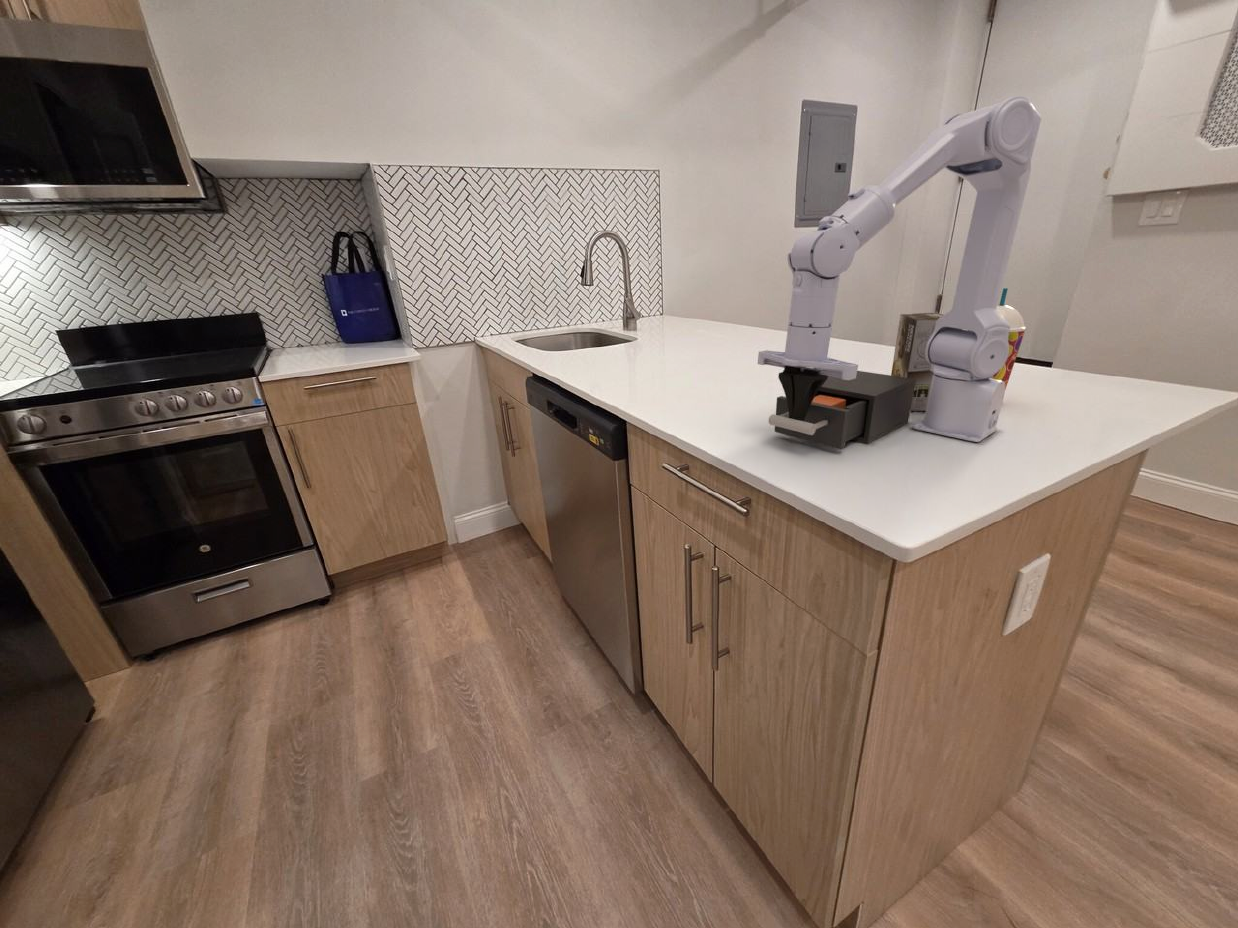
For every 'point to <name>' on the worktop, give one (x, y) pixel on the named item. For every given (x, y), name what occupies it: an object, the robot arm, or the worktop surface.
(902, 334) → the coffee box
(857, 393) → the dark drawer unit
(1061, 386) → the worktop surface
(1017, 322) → the smoothie
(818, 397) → the block
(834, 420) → the open pull-out drawer
